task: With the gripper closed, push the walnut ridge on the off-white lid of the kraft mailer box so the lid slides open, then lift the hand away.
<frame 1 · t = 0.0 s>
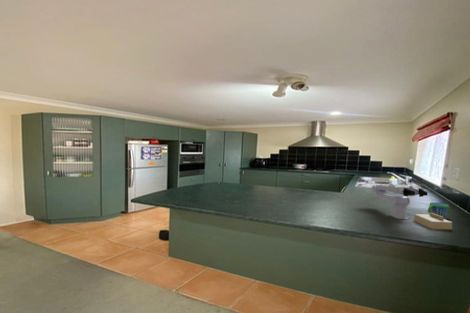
hand: (420, 193, 148), 22 cm above the countertop, tool horizontal, fingers open, 7 cm apart
mailer lid: (432, 216, 153), point 6 cm above the countertop, slide at 0.0 cm
mailer box: (431, 224, 154), on the countertop
snack cup: (438, 217, 170), on the countertop
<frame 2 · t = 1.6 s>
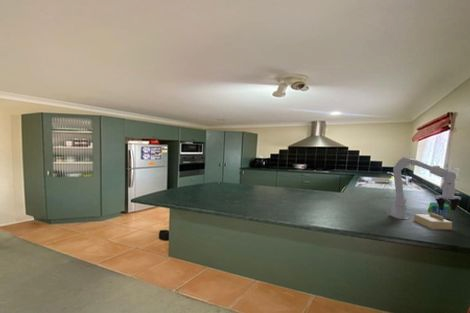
hand: (447, 209, 153), 10 cm above the countertop, tool pointing down, fingers open, 7 cm apart
nothing on the countertop moved.
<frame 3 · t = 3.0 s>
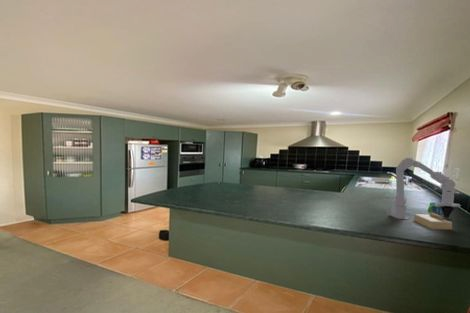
hand: (446, 217, 153), 5 cm above the countertop, tool pointing down, fingers closed
nothing on the countertop moved.
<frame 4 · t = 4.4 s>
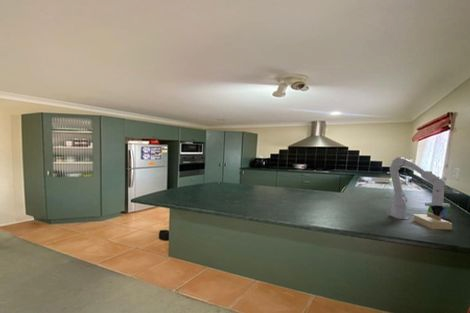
hand: (436, 217, 153), 5 cm above the countertop, tool pointing down, fingers closed
mailer lid: (429, 216, 153), point 6 cm above the countertop, slide at 1.6 cm, touching gripper
everything else where it was.
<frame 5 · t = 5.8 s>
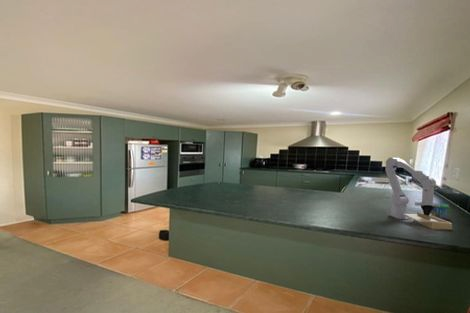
hand: (426, 216, 154), 5 cm above the countertop, tool pointing down, fingers closed
mailer lid: (419, 216, 154), point 6 cm above the countertop, slide at 8.0 cm, touching gripper
everything else where it was.
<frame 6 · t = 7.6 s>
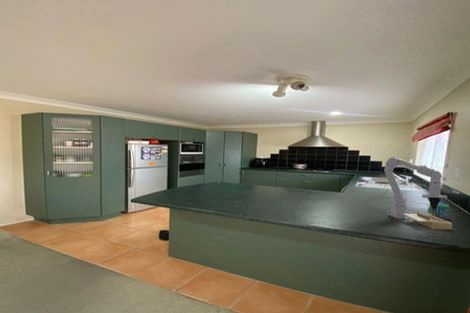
hand: (433, 208, 156), 10 cm above the countertop, tool pointing down, fingers closed
mailer lid: (419, 216, 154), point 5 cm above the countertop, slide at 8.2 cm
everything else where it was.
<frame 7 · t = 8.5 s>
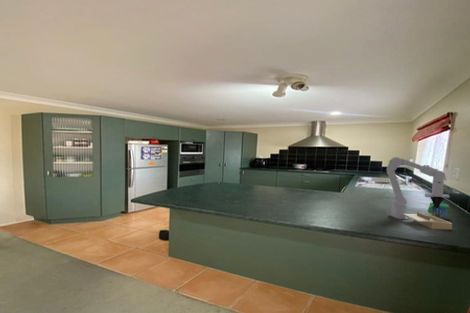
hand: (436, 207, 158), 10 cm above the countertop, tool pointing down, fingers closed
nothing on the countertop moved.
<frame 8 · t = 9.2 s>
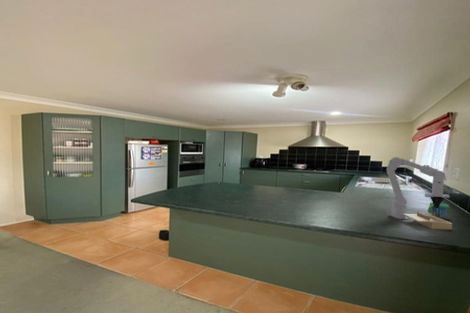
hand: (436, 207, 158), 10 cm above the countertop, tool pointing down, fingers closed
nothing on the countertop moved.
at the end: mailer lid slide at 8.2 cm; snack cup moved 0.2 cm from its start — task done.
